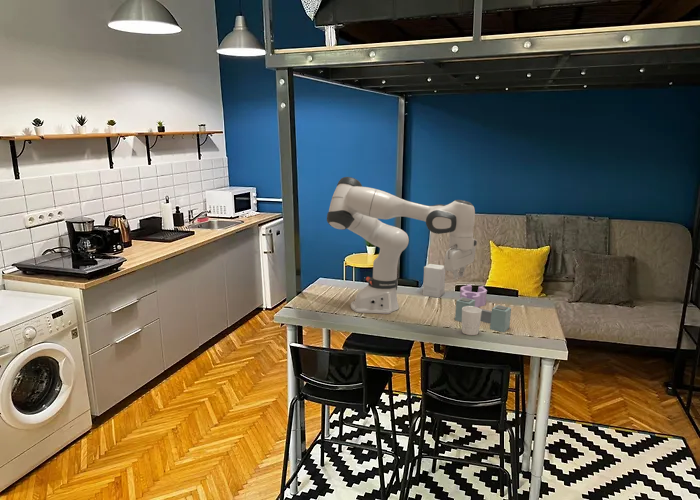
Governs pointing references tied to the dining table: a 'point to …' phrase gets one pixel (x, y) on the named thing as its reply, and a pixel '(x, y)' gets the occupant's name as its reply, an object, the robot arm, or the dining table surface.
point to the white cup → (471, 320)
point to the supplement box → (434, 280)
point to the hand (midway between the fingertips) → (458, 277)
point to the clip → (474, 295)
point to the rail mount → (487, 314)
